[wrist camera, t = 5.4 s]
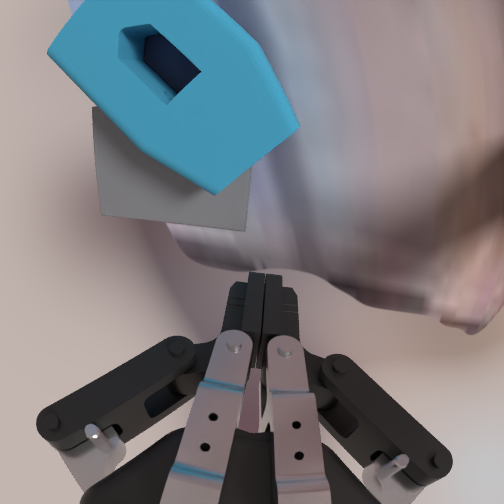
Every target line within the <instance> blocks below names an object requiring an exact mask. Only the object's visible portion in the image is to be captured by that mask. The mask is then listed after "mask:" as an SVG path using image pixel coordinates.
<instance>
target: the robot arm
mask: <svg viewBox="0 0 504 504" xmlns="http://www.w3.org/2000/svg"><path fill="white" fill-rule="evenodd" d="M264 281H265V284H264ZM256 357H257V363H256V368H259V369H261V378H260V383H259V405H260V406H259V408H260V409H259V410H260V424H259V433H249V432H246V431H243V430H240V429H238V423H239V417H240V413H241V409H242V404H243V399H244V394H245V389H246V384H247V381H248V379H249V375H250V369H251V368H254V367H255V362H256ZM194 396H195V399H194V402H193V405H192V408H191V411H190V414H189V418H188V421H187V424H186V427H184V428H180V429H177V430H175V431H172V432H170V433H169V434H167V435H165V436H164V437H163V438H161V439H160V440H158V441H157V442H156V443H154V444H153V445H152V446H150V447H149V448H147V449H146V450H145V451H143V452H142V453H140V454H139V455H138V456H136V457H135V458H133V459H132V460H130V461H129V462H127V463H126V464H125V465H123V466H121V467H120V468H118V469H117V470H115V471H114V469H115V467H116V466H117V464H119V463H120V462H121V461H122V460H123V459H124V457H125V454H126V446H125V443H126V442H128V441H129V440H131V439H133V438H134V437H136V436H137V435H139V434H140V433H142V432H143V431H145V430H146V429H148V428H150V427H151V426H152V425H154V424H155V423H157V422H158V421H160V420H161V419H163V418H164V417H166V416H167V415H169V414H170V413H172V412H173V411H175V410H176V409H177V408H179V407H180V406H182V405H183V404H184V403H186V402H187V401H189V400H190V399H191V398H193V397H194ZM319 422H320V423H321V424H322V425H323V426H324V427H325V429H326V430H327V431H328V432H329V433H330V434H331V435H332V436H333V437H334V438H335V439H336V440H337V441H338V442H339V443H340V444H341V445H342V446H343V447H344V449H345V450H347V452H348V453H349V454H350V455H351V456H352V457H353V458H354V459H355V460H356V461H357V462H358V463H359V464H360V465H361V466H362V467H363V468H364V470H363V474H362V479H363V482H364V484H365V485H366V487H367V488H368V489H367V488H366V487H365V486H364V485H363V483H362V482H361V481H360V480H359V479H358V478H357V477H356V476H355V475H354V474H353V473H352V472H351V471H350V469H349V468H348V467H347V466H346V465H345V464H344V463H343V462H342V460H341V459H340V458H339V457H338V456H337V455H336V454H335V453H334V451H333V450H331V449H330V448H329V447H328V446H327V445H325V444H323V443H321V436H320V428H319ZM36 426H37V430H38V432H39V434H40V435H41V436H42V437H43V438H44V439H45V440H46V441H48V442H49V443H50V445H51V446H52V447H54V448H55V449H56V450H57V451H58V452H59V453H60V455H61V457H62V459H63V460H64V462H65V464H66V465H67V467H68V468H69V470H70V472H71V473H72V475H73V476H74V478H75V480H76V481H77V483H78V484H79V485H80V487H81V489H82V490H83V491H84V494H83V496H82V498H81V500H80V504H411V503H412V502H413V501H414V499H415V498H416V497H417V496H418V495H419V494H420V493H421V491H422V490H423V489H424V488H425V487H426V486H427V485H429V484H431V483H433V482H435V481H437V480H439V479H441V478H443V477H445V476H446V475H447V474H448V473H449V472H450V470H451V468H452V464H453V459H452V455H451V453H450V451H449V450H448V449H447V448H446V447H445V446H444V445H442V444H441V443H440V442H439V441H438V440H437V439H436V438H435V437H434V436H433V435H432V434H430V433H429V432H428V431H427V430H426V429H425V428H424V427H423V426H422V425H421V424H420V423H419V422H418V421H416V420H415V419H414V418H413V417H412V416H411V415H410V414H409V413H408V412H407V411H406V410H405V409H404V408H402V407H401V406H400V405H399V404H398V403H397V402H396V401H395V400H394V399H393V398H392V397H391V396H390V395H389V394H387V393H386V392H385V391H384V390H383V389H382V388H381V387H380V386H379V385H378V384H377V383H376V382H375V381H374V380H373V379H372V378H370V377H369V376H368V375H367V374H366V373H365V372H364V371H363V370H362V369H361V368H360V367H359V366H358V365H357V364H356V363H354V362H353V361H352V360H351V359H350V358H349V357H347V356H345V355H342V354H332V355H329V356H327V357H326V358H325V359H324V358H321V357H319V356H316V355H313V354H311V353H309V352H308V351H306V350H305V349H304V348H303V346H302V345H301V343H300V338H299V320H298V300H297V295H296V293H295V292H294V290H293V288H289V287H282V276H281V275H273V274H266V277H265V274H264V273H256V272H249V277H248V283H245V282H235V283H234V284H233V286H232V287H231V288H230V291H229V296H228V301H227V306H226V311H225V316H224V321H223V326H222V330H221V333H220V335H219V336H218V337H217V338H216V339H214V340H212V341H210V342H207V343H200V344H193V342H192V341H191V340H189V339H188V338H186V337H183V336H171V337H168V338H166V339H164V340H163V341H161V342H159V343H158V344H156V345H155V346H153V347H151V348H149V349H148V350H146V351H144V352H143V353H141V354H139V355H138V356H136V357H134V358H133V359H131V360H129V361H128V362H126V363H124V364H122V365H120V366H119V367H117V368H115V369H114V370H112V371H110V372H108V373H107V374H105V375H103V376H102V377H100V378H98V379H96V380H94V381H93V382H91V383H89V384H87V385H86V386H84V387H82V388H80V389H79V390H77V391H75V392H73V393H71V394H70V395H68V396H66V397H64V398H63V399H61V400H59V401H57V402H55V403H53V404H52V405H50V406H48V407H46V408H45V409H43V410H42V411H41V412H40V413H39V415H38V417H37V421H36Z"/></svg>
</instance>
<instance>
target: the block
mask: <svg viewBox="0 0 504 504" xmlns="http://www.w3.org/2000/svg"><path fill="white" fill-rule="evenodd" d="M158 34H162V35H163V36H164V37H165V38H167V39H168V40H169V41H170V42H171V43H172V44H173V45H174V46H175V47H176V48H177V49H178V50H180V51H181V52H182V53H183V54H184V55H185V56H186V57H187V58H188V59H189V60H190V61H191V62H192V63H193V64H194V65H195V66H196V67H197V68H198V69H199V70H200V71H201V73H200V74H198V75H197V76H196V77H195V78H194V79H193V80H192V81H191V82H190V83H189V84H188V85H187V86H186V87H185V88H183V89H182V90H181V91H180V92H179V93H178V94H177V93H176V92H175V91H174V90H173V89H172V88H171V87H170V86H169V85H168V84H167V83H166V82H165V81H164V80H163V79H162V78H161V77H160V76H159V75H157V74H156V73H155V72H154V71H153V70H152V69H151V68H150V67H149V66H148V65H147V64H146V63H145V62H144V61H143V58H144V41H145V38H146V37H147V36H150V35H158ZM47 54H48V55H49V57H50V58H51V59H52V60H53V61H54V62H55V63H56V64H57V65H58V66H59V67H60V68H61V69H62V70H63V71H64V72H65V73H66V74H67V75H68V76H69V77H70V78H71V80H72V81H73V82H74V83H75V84H76V85H77V86H78V87H79V88H80V89H81V90H82V91H83V92H84V93H85V94H86V95H87V96H88V97H89V98H90V99H91V100H92V101H93V102H94V103H95V104H96V105H97V106H98V107H99V108H100V109H101V111H102V112H103V113H104V114H105V115H106V116H107V117H108V118H109V119H110V120H111V121H112V122H113V123H114V124H115V125H116V126H117V127H118V128H119V129H120V130H121V131H122V132H123V133H124V134H125V135H126V136H127V137H128V138H129V139H130V140H131V141H132V142H133V143H134V144H135V145H136V146H137V147H138V148H139V149H140V150H141V151H142V152H143V153H145V154H147V155H148V156H150V157H152V158H153V159H155V160H157V161H158V162H160V163H162V164H163V165H165V166H167V167H168V168H170V169H172V170H173V171H175V172H176V173H178V174H180V175H181V176H183V177H185V178H186V179H188V180H190V181H191V182H193V183H194V184H196V185H198V186H199V187H201V188H203V189H204V190H206V191H207V192H209V193H211V194H212V195H214V196H215V195H217V194H218V193H219V192H221V191H222V190H223V189H224V188H225V187H227V186H228V185H229V184H230V183H231V182H233V181H234V180H235V179H236V178H237V177H239V176H240V175H241V174H242V173H243V172H245V171H246V170H247V169H248V168H250V167H251V166H252V165H253V164H254V163H256V162H257V161H258V160H259V159H261V158H262V157H263V156H264V155H266V154H267V153H268V152H269V151H271V150H272V149H273V148H275V147H276V146H277V145H278V144H280V143H281V142H282V141H283V140H285V139H286V138H287V137H289V136H290V135H291V134H292V133H294V132H295V131H296V130H297V129H298V128H299V127H300V124H299V122H298V120H297V118H296V115H295V113H294V111H293V109H292V107H291V105H290V103H289V101H288V99H287V97H286V95H285V93H284V91H283V89H282V87H281V85H280V83H279V81H278V79H277V77H276V75H275V73H274V71H273V69H272V67H271V65H270V63H269V62H268V60H267V58H266V56H265V54H264V52H263V51H262V49H261V47H260V45H259V44H258V43H257V42H256V41H255V40H254V39H253V38H252V37H251V36H250V35H249V34H248V33H247V32H246V31H245V30H244V29H243V28H242V27H241V26H240V25H239V24H238V23H236V22H235V21H234V20H233V19H232V18H231V17H230V16H229V15H228V14H227V13H225V12H224V11H223V10H222V9H221V8H220V7H219V6H218V5H216V4H215V3H214V2H213V1H212V0H85V1H84V2H83V3H82V4H81V6H80V7H79V8H78V9H77V10H76V12H75V13H74V14H73V15H72V17H71V18H70V19H69V20H68V22H67V23H66V24H65V26H64V27H63V28H62V30H61V31H60V33H59V34H58V36H57V37H56V38H55V39H54V41H53V42H52V44H51V46H50V47H49V48H48V51H47Z"/></svg>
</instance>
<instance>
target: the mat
mask: <svg viewBox="0 0 504 504" xmlns="http://www.w3.org/2000/svg"><path fill="white" fill-rule="evenodd" d="M92 118H93V139H94V153H95V165H96V175H97V184H98V192H99V200H100V207H101V214H102V215H104V216H115V217H125V218H135V219H144V220H153V221H162V222H171V223H180V224H189V225H198V226H206V227H215V228H223V229H231V230H240V231H245V228H246V218H247V208H248V197H249V187H250V177H251V167H252V166H251V167H250V168H248V169H247V170H246V171H245V172H243V173H242V174H241V175H240V176H239V177H237V178H236V179H235V180H234V181H233V182H231V183H230V184H229V185H228V186H227V187H225V188H224V189H223V190H222V191H221V192H219V193H218V194H217V195H215V196H214V195H212V194H211V193H209V192H207V191H206V190H204V189H203V188H201V187H199V186H198V185H196V184H194V183H193V182H191V181H190V180H188V179H186V178H185V177H183V176H181V175H180V174H178V173H176V172H175V171H173V170H172V169H170V168H168V167H167V166H165V165H163V164H162V163H160V162H158V161H157V160H155V159H153V158H152V157H150V156H148V155H147V154H145V153H143V152H142V151H141V150H140V149H139V148H138V147H137V146H136V145H135V144H134V143H133V142H132V141H131V140H130V139H129V138H128V137H127V136H126V135H125V134H124V133H123V132H122V131H121V130H120V129H119V128H118V127H117V126H116V125H115V124H114V123H113V122H112V121H111V120H110V119H109V118H108V117H107V116H106V115H105V114H104V113H103V112H102V111H101V109H100V108H99V107H98V106H97V107H92Z"/></svg>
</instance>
